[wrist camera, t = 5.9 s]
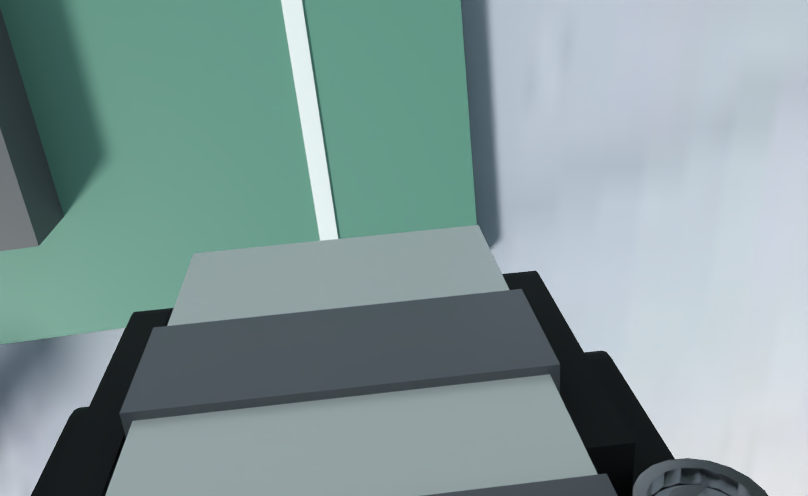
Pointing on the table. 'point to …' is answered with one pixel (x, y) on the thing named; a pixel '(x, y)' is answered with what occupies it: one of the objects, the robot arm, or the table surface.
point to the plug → (351, 378)
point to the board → (214, 141)
